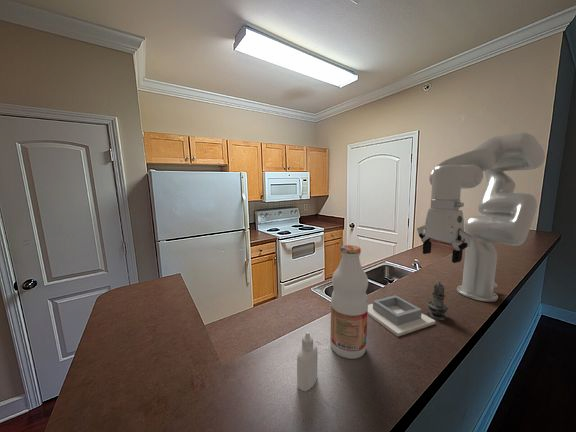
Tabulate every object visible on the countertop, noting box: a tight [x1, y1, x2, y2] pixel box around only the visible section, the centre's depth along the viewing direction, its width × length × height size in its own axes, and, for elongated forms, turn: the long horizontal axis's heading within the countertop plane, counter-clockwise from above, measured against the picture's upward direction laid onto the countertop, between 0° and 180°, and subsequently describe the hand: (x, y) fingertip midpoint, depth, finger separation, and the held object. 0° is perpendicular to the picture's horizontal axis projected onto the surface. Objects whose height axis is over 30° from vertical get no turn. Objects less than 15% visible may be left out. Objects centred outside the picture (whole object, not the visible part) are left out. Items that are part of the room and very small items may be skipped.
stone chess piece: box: [426, 281, 449, 321], centre depth 76 cm, size 6×6×12 cm
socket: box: [367, 294, 436, 337], centre depth 76 cm, size 16×16×4 cm
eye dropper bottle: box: [296, 331, 318, 392], centre depth 50 cm, size 4×6×12 cm
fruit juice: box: [329, 244, 369, 360], centre depth 60 cm, size 9×9×28 cm
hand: (440, 257), depth 74 cm, fingers open, 9 cm apart
